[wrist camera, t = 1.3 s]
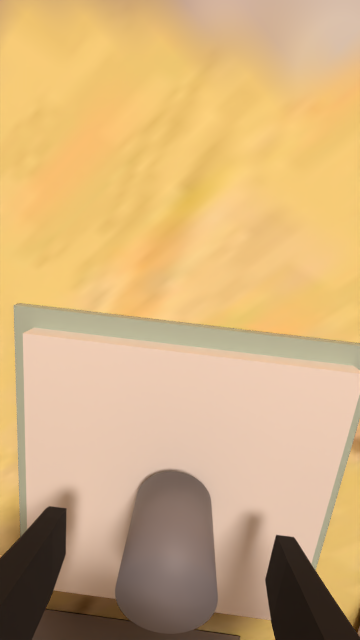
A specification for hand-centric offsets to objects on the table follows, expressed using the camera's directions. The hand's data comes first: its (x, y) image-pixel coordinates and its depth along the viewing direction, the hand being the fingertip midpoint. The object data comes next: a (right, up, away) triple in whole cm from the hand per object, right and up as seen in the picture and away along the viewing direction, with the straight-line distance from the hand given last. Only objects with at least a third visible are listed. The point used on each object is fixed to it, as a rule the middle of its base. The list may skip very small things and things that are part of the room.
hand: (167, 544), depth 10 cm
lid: (0, +1, +3) cm, 3 cm away
